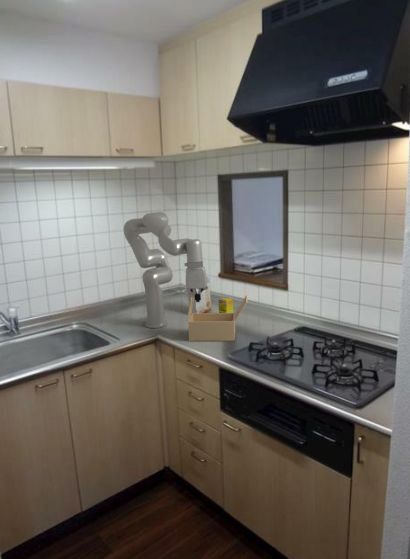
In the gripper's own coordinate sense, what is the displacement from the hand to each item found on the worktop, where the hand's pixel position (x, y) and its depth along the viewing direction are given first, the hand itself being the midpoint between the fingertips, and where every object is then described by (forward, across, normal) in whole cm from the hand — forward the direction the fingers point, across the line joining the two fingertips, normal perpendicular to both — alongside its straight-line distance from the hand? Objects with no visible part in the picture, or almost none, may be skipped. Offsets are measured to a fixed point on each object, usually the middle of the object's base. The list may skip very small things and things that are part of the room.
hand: (197, 301), depth 210 cm
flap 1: (+3, -3, 0) cm, 4 cm away
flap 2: (+4, +21, 0) cm, 21 cm away
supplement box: (+18, +12, +31) cm, 38 cm away
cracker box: (+18, -4, +42) cm, 45 cm away
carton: (+18, +6, 0) cm, 20 cm away
